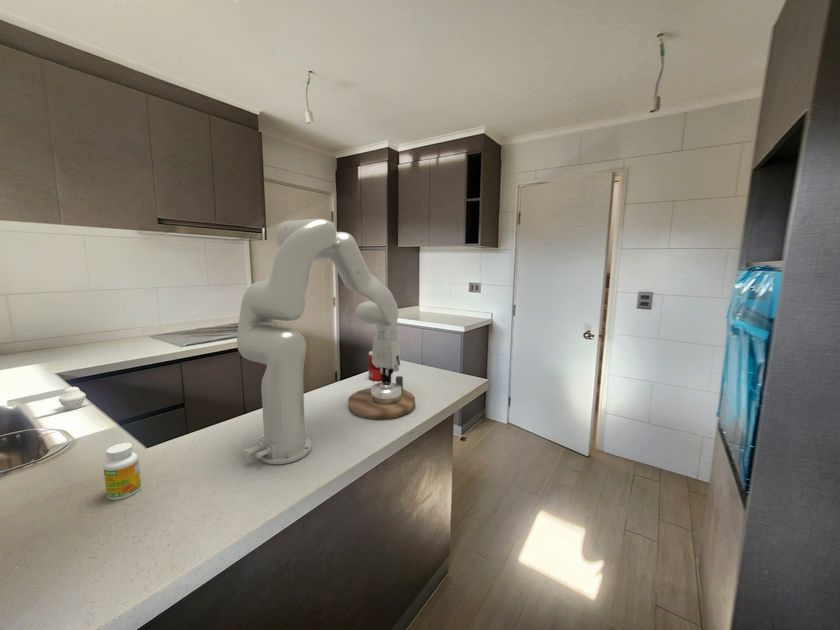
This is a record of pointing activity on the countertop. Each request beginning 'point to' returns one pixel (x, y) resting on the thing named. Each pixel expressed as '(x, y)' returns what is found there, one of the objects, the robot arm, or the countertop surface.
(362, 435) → the countertop surface
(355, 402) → the turntable
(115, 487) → the supplement bottle
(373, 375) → the canned food
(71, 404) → the muffin
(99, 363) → the countertop surface
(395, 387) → the cover
